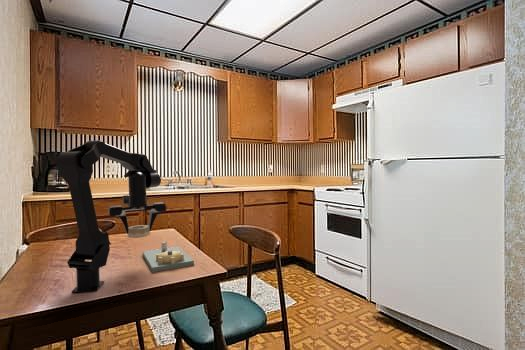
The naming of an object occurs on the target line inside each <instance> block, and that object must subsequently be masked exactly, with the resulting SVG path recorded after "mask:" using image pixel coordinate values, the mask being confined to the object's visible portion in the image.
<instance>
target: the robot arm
mask: <svg viewBox="0 0 525 350" xmlns="http://www.w3.org/2000/svg"><path fill="white" fill-rule="evenodd" d="M101 158H104V159H106V160H109V161H112V162H115V163H118V164H120V165H121V167H122V168H124V169H126V170H127V171H126V173H125V174H124V175H123V177H124V178H128V194H127V195H122V204H123V207H122V205H121V204H118V205H109V207H108V209H107V210H108V216H110V217H116V218H118V219H120V220H121V222H122V224H123V227H124V229H125V232H126V234H127V235H128V227H129V224H128V219H127V217H128V216H127V214H126V213H130V212H131V213H132V212H133V213H134V212H144V211H145V212H146V211H148V214H149V216H148V226H149V227H150V232H151V230H152V228H153V225H154V223H155V220H156V218H157V216H158V215H160V214H161V212H167V204H166V203H164V202H163V201H161V202H159V201H158V202H153V203H152V204H149V205H147V189H151V188H152V189H153V188H157V187H159V186H160V185H161V183H162V178H161V176H160V174H159V173H157V170H156V169H154V167H153V165H152V164H151V162H150V160H149V158H148V156H147V155H146V154H143V153H138V152H137V153H136V152H128V151H126V150H123V149H120V148H118V147H116V146H114V145H110V144H108V143H106V142H104V141H102V140H99V139H98V140H97V139H96V140H88V141H85V143H83V144H82V145H78V146H77V147H74V148H71V149H69V150H67V151H63V152H60V153H59V154H58V155H57V157H56V158H55V166H56V169H57V171H58V173H59V176H60V177H61V178H62V179H63V181H64V182H65V183H66V184H67V185H68V189H69V193H70V198H71V203H72V206H73V211H74V216H75V221H76V224H77V229H78V235H77V237H76V240H75V250H74V251H73V253H72V255H71V256H70V257H69V258H68V260H67V262H66V263H67V266H68V268H69V269H75V270H76V271H75V272H76V286H75V287H74V288H73V289H72V291H71V294H77V293H88V292H89V293H90V292H97V291H98V290H99V289H100V288H101V287H102V285H104V284H105V281H104V280H100V279H101V278H100V268H103V267H104V266H106V265H107V261H108V257H109V253H110V250H111V247H110V245H112V243H111V242H110V237H109V233H108V231H102V230H101V228H99V224H98V223H99V222H98V219H97V213H96V209H95V204H94V200H93V195H92V189H91V184H90V180H91V178H92V176H93V172H94V166H93V165H95V164H96V163H97V162H99V160H100V159H101ZM100 230H101V231H102V232H101V231H100Z"/></svg>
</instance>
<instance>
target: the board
mask: <svg viewBox="0 0 525 350" xmlns="http://www.w3.org/2000/svg"><path fill="white" fill-rule="evenodd" d="M142 256H143V258H144V260H145V262H146V264H147V266H148V267H149V269H150V271H151V273H156V272H161V271H162V272H163V271H168V270H172V269H178V268H183V267H189V266H194V265H195V260H194V259H193V258H192V257H190V256H189V255H188V254H187V253H186V252H185V251H184V250H183V249H182V248H181V247H180V246H172V247H167V251H165V252H163V253H162V252H161V248H159V249H150V250H144V251H143V250H142Z"/></svg>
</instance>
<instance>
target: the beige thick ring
mask: <svg viewBox="0 0 525 350" xmlns="http://www.w3.org/2000/svg"><path fill="white" fill-rule="evenodd" d="M150 235H151V231H150V227H149V224H147V225H146V224H139V225H132V226H128V234H127V237H128V238H129V239H130V238H131V239H137V238H138V239H139V238H145V237H148V236H150Z"/></svg>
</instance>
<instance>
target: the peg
mask: <svg viewBox="0 0 525 350" xmlns="http://www.w3.org/2000/svg"><path fill="white" fill-rule="evenodd" d="M160 247H161V248H160V249H161V252H162V253H163V252H165V251H167V248H168V242H167V241H162V242H161V246H160Z"/></svg>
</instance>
